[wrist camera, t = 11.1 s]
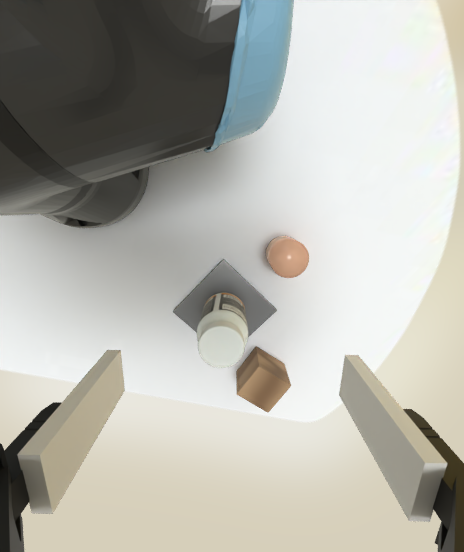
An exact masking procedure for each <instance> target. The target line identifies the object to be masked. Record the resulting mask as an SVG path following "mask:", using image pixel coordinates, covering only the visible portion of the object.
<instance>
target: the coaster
mask: <svg viewBox="0 0 464 552" xmlns="http://www.w3.org/2000/svg"><path fill="white" fill-rule="evenodd" d="M218 293H230V294H233V295H235V296H237V297H238V298H239V299H240V300H241V301H242V303H243V305H244V307H245V312H246V320H247V327H248V337H249V336H250V335H251V334H252V333H253V332H254V331H255V330H256V329H257V328H258V327H260V326H261V325H262V324H263V323H264V322H265V321H266V320H267V319H268V318H269V317H270V316H271V315H272V314H274V313H275V312H276V311H277V310H276V308H275V307H274V306H273V305H272V304H271V303H269V302H268V301H267V300H266V299H265V298H264V297H263V296H262V295H261V294H260V293H259V292H258V291H257V290H256V289H255V288H254V287H253V286H251V285H250V284H249V283H248V282H247V281H246V280H245V279H244V278H243V277H242V276H241V275H240V274H239V273H238V272H237V271H236V270H235V269H233V268H232V267H231V266H230V265H229V264H228V263H227V262H226V261H225V260H224V259H223V260H222V261H221V262H220V263H219V264H218V265H217V266H216V267H215V268H214V269H213V270H212V271H211V273H210V274H209V275H208V276H207V277H206V278H205V279H204V280H203V281H202V282H201V283H200V284H199V285H198V286H197V287H196V288H195V289H194V290H193V291H192V292H191V293H190V294H189V295H188V296H187V297H186V298H185V299H184V300H183V301H182V302H181V303H180V304H179V305H178V307H177V308H176V309H175V310H174V311H173V312H174V313H175V314H176V315H177V316H178V317H179V318H181V319H182V320H183V321H184V322H185V323H186V324H188V325H189V326H190V327H191V328H192V329H193V330H195V331H196V332H197V327H198V324H199V321H200V318H201V314H202V311H203V308H204V306H205V303H206V302H207V300H208V299H209V298H210V297H212V296H213V295H215V294H218Z"/></svg>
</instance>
